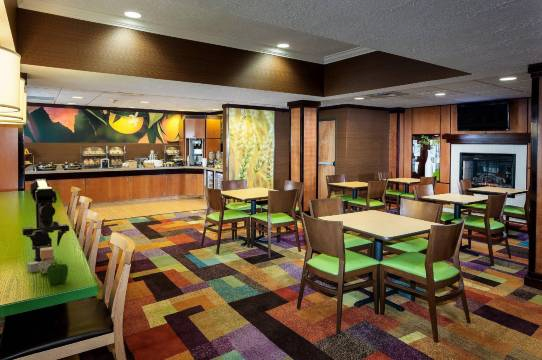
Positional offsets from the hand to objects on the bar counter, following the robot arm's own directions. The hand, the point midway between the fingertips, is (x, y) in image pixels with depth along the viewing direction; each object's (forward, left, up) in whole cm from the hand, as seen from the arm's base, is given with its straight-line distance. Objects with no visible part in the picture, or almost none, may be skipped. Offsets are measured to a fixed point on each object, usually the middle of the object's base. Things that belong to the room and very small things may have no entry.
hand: (46, 247), depth 181 cm
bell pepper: (+17, +2, -13) cm, 21 cm away
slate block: (-8, -5, -13) cm, 16 cm away
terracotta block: (0, 0, -5) cm, 5 cm away
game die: (0, 0, -13) cm, 13 cm away
